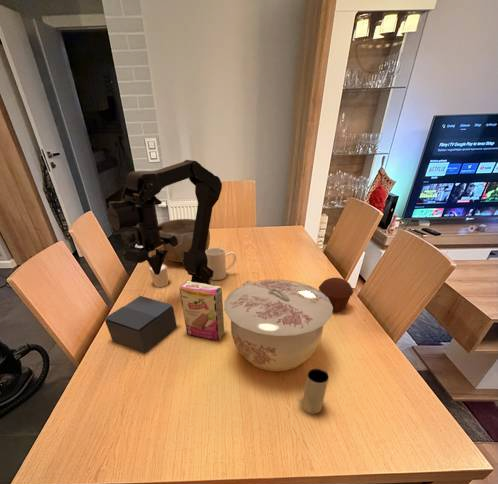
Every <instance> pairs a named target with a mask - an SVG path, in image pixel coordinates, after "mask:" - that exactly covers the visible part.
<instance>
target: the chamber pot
mask: <svg viewBox="0 0 498 484" xmlns="http://www.w3.org/2000/svg"><path fill="white" fill-rule="evenodd" d="M223 303H224V304H223V312H224V313H225V314H226V316H227V317H228V319H229V320H230V333H231V336H232V340H233V343H234V345H235V347H236V349H237V351H238V352H239V354H240V355H241V356H242V357H243V358H244V359H245V360H246V361H247V362H248V363H250V364H251V365H252V366H254V367H256V368H257V369H261V370H263V371H268V372H285V371H288V370H293V369H295V368H297V367H299V366H301V365H302V364H304V363H305V362H306V361H307V360H308V359H310V358H311V356H312V355H313V354H314V353H315V351H316V350H317V349H318V347H319V345H320V342H321V340H322V336H323V330H324V326H325V325H326V324H327V323H328V322H329V321H330V319H331V318H332V316H333V313H332V311H333V306H332V304H331V302H330V300H329V298H328V297H327V296H325V295H324V294H323V293H322V292H321V291H319V289H317V288H316V287H313V286H311V285H309V284H306V283H302V282H300V281H294V280H289V279H263V280H256V281H251V280H247V281H245V282H244V283H243V284H241V285H239V286H238V287H236V288H235V289H234V290H232V291H231V292H229V294H228V295H227V297H226V298H225V299H224V302H223Z"/></svg>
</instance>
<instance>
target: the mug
mask: <svg viewBox="0 0 498 484" xmlns="http://www.w3.org/2000/svg"><path fill="white" fill-rule="evenodd" d="M205 252H206V256H207V259H208V264H207V267H209V268H210V269H211V270H213V271H214V273H213V277H212V278H210V281H211V280H212V281H221V280H223V279H226V278H227V271H228V270H229V269H231V268H232V267H233V266H234V265H235V263H236V261H237V256H236V253H235V252H234V251H229V252H227V253H226V251H225V249H224V248H220V247H211V248H208V250H206V251H205ZM229 255H233V261H232V263H231V264H230V265H229V266H227V264H226V263H227V262H226V257H227V256H229Z"/></svg>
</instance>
